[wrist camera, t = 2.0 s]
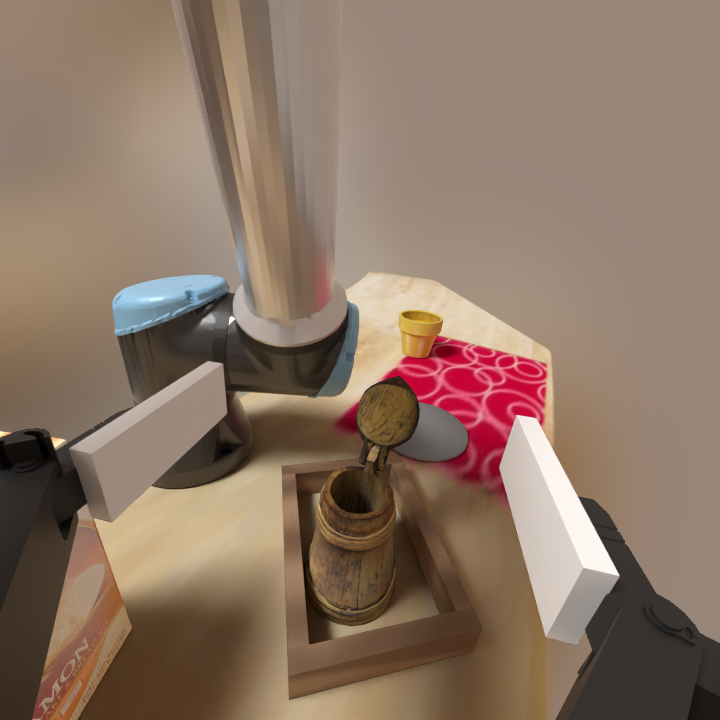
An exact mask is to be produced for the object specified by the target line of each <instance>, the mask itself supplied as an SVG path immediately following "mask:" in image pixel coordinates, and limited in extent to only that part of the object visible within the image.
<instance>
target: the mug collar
mask: <svg viewBox="0 0 720 720" xmlns="http://www.w3.org/2000/svg"><path fill="white" fill-rule="evenodd" d="M358 460H359V459H349V460H339V461H328V462H318V463H307V464H297V465H286V466H282V499H283V530H284V561H285V592H286V623H287V654H288V685H289V700H290V699H293V698H297V697H301V696H305V695H309V694H312V693H316V692H320V691H324V690H327V689H331V688H335V687H339V686H343V685H346V684H350V683H354V682H358V681H361V680H365V679H369V678H373V677H377V676H380V675H384V674H388V673H392V672H395V671H399V670H403V669H407V668H411V667H414V666H418V665H422V664H426V663H429V662H433V661H437V660H441V659H445V658H448V657H452V656H456V655H460V654H464V653H467V652H471V651H473V648H474V646H475V644H476V642H477V640H478V637H479V635H480V633H481V631H482V626H481V624H480V621H479V619H478V617H477V615H476V613H475V611H474V609H473V607H472V605H471V603H470V601H469V599H468V597H467V595H466V592H465V590H464V588H463V586H462V584H461V582H460V580H459V578H458V576H457V574H456V572H455V570H454V568H453V566H452V563H451V561H450V559H449V557H448V555H447V553H446V551H445V549H444V547H443V545H442V543H441V541H440V539H439V537H438V534H437V532H436V530H435V528H434V526H433V524H432V522H431V520H430V518H429V516H428V514H427V512H426V510H425V508H424V505H423V503H422V501H421V499H420V497H419V495H418V493H417V491H416V489H415V487H414V485H413V483H412V481H411V479H410V476H409V474H408V472H407V470H406V468H405V466H404V464H403V462H402V460H401V458H400V456H399V455H391V456H388V458H387V461H386V465H385V468H384V471H383V472H382V471H379V472H378V473H379V474H380V475H382V476H383V477H384V478H385V479H386V480H387V482H388V483H389V484H390V486H391V487H392V489H393V495H394V499H395V503H396V505H397V508H398V510H399V513H400V515H401V518H402V520H403V523H404V525H405V528H406V530H407V533H408V535H409V538H410V540H411V543H412V545H413V548H414V550H415V553H416V556H417V558H418V561H419V563H420V566H421V568H422V571H423V573H424V576H425V578H426V581H427V583H428V586H429V588H430V591H431V593H432V596H433V598H434V601H435V603H436V606H437V608H438V611H439V613H440V615H437V616H433V617H429V618H424V619H420V620H415V621H411V622H407V623H402V624H398V625H394V626H389V627H385V628H380V629H376V630H372V631H367V632H363V633H358V634H354V635H350V636H345V637H341V638H337V639H332V640H328V641H323V642H319V643H315V644H310V645H309V639H308V626H307V614H306V602H305V589H304V577H303V564H302V552H301V539H300V527H299V515H298V502H297V495H302V494H311V493H319V492H321V491H322V489H323V487H324V485H325V482H326V481H327V479H328V478H329V476H330V475H331V474H332V473H333V472H334V471H336V470H337V469H339V468H341V467H347V466H360V467H365V466H364V465H362V464H360V463H359V462H358Z"/></svg>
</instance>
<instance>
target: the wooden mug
mask: <svg viewBox="0 0 720 720" xmlns="http://www.w3.org/2000/svg"><path fill="white" fill-rule="evenodd" d="M419 416H420V408H419V402H418V400H417V397H416V395H415V393H414V392H413V390H412V389H411V388H410V386H409V385H408V384H407V383H406V382H405V381H404V380H403V379H402V378H401V377H400V376H397V377H393V378H389V379H386V380H383V381H381V382H378V383H376V384H374V385H372V386H371V387H369V388H368V389H367V390H366V391H365V392H364V394H363V396H362V398H361V400H360V403H359V407H358V410H357V414H356V425H357V428H358V431H359V433H360V435H361V437H362V439H363V441H364V445H363V449H362V452H361V455H360V457H359V460H358V462H359V463H360V464H362V465H364V466H365V467H360V466H347V467H341V468H339V469H337V470H336V471H334V472H333V473H332V474H331V475H330V476H329V478H328V479H327V481H326V482H325V485H324V487H323V489H322V491H321V493H320V497H319V501H318V504H317V510H316V520H317V524H316V529H315V533H314V537H313V541H312V544H311V546H310V548H309V550H308V555H307V560H306V568H305V576H304V587H305V591H306V594H307V598H308V599H309V600H310V602H311V603H312V605H313V606H314V607H315V609H316V610H318V611H319V612H320V613H321V614H322V615H323V616H324V617H326V618H328V619H330V620H332V621H334V622H336V623H339V624H345V625H357V624H364V623H366V622H369V621H371V620H373V619H375V618H377V617H378V616H379V615H380V614H381V613H382V612H383V611H384V610H386V608H387V606H388V604H389V602H390V600H391V597H392V593H393V589H394V581H395V561H394V554H393V527H394V525H395V519H396V505H395V499H394V495H393V489H392V487H391V486H390V484H389V483H388V482H387V480H386V479H385V478H384V477H383V476H382V475H380V474H379V473H378V472H379V471H382V472H383V471H384V468H385V465H386V461H387V458H388V454H389V450H390V449H392V448H395V447H398V446H401V445H402V444H404V443H405V442H407V441H408V440H410V439H411V437H412V435H413V434H414V432H415V430H416V428H417V425H418V422H419Z"/></svg>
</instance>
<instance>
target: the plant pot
mask: <svg viewBox="0 0 720 720" xmlns="http://www.w3.org/2000/svg"><path fill="white" fill-rule="evenodd" d="M442 323H443V319H442V317H441V316H439V315H437V314H435V313H432V312H427V311H421V310H406V311H403V312H401V313H400V316H399V328H400V329H401V340H402V351H403V353H404V354H405V355H407V356H409V357H413V358H425V357H427V356H428V355H429V353H430V350H431V348H432V346H433V343H434V341H435V338H436V336H437V335H438V334H439V333H440V332H441V328H442Z"/></svg>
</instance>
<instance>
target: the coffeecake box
mask: <svg viewBox="0 0 720 720" xmlns="http://www.w3.org/2000/svg"><path fill="white" fill-rule="evenodd" d="M8 434H10V433H7V432H1V431H0V438H1V437H2V436H5V435H8ZM51 439H52V442H53V445H54V448H55V450H57V449H59V448H60V447H62V446H64V445H65V444H67V441H66V440H63V439H58V438H53V437H51ZM77 514H78V519H79V521H78V525H77V530H76V534H75V538H74V543H73V547H72V551H71V555H70V560H69V564H68V568H67V572H66V577H65V581H64V585H63V590H62V594H61V598H60V602H59V607H58V611H57V615H56V620H55V624H54V628H53V632H52V637H51V641H50V645H49V649H48V654H47V658H46V662H45V667H44V671H43V675H42V679H41V684H40V688H39V692H38V697H37V701H36V705H35V709H34V714H33V718H32V720H78V718H79V716H80V715H81V713H82V711H83V710H84V708H85V706H86V704H87V703H88V701H89V699H90V698H91V696H92V694H93V693H94V691H95V689H96V688H97V686H98V684H99V683H100V681H101V679H102V678H103V676H104V674H105V673H106V671H107V669H108V667H109V666H110V664H111V662H112V661H113V659H114V657H115V656H116V654H117V652H118V651H119V649H120V647H121V646H122V644H123V642H124V640H125V639H126V637H127V635H128V634H129V632H130V630H131V629H132V626H131V623H130V621H129V618H128V615H127V612H126V608H125V606H124V603H123V601H122V598H121V595H120V592H119V589H118V586H117V584H116V581H115V578H114V575H113V572H112V569H111V567H110V564H109V561H108V558H107V555H106V552H105V550H104V547H103V544H102V541H101V539H100V536H99V533H98V530H97V527H96V524H95V521H94V518H92V517H91V515H90V512H89V509H88V506H87V504H86V505H84V506H83V507H82V508H81V509H79V510H78V511H77Z"/></svg>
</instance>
